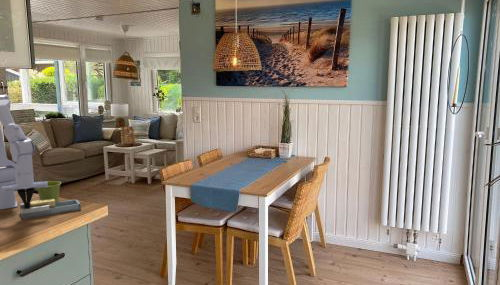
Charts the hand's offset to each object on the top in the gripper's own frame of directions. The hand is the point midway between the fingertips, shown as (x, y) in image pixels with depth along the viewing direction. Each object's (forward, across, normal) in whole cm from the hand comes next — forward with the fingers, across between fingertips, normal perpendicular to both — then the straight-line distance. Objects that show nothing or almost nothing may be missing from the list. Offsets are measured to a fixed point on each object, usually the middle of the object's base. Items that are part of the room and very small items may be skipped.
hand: (27, 208), depth 144 cm
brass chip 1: (0, +3, 0) cm, 3 cm away
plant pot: (+3, +8, +10) cm, 13 cm away
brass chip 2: (0, +7, 0) cm, 7 cm away
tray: (+3, +12, 0) cm, 13 cm away
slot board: (+2, +2, 0) cm, 4 cm away
